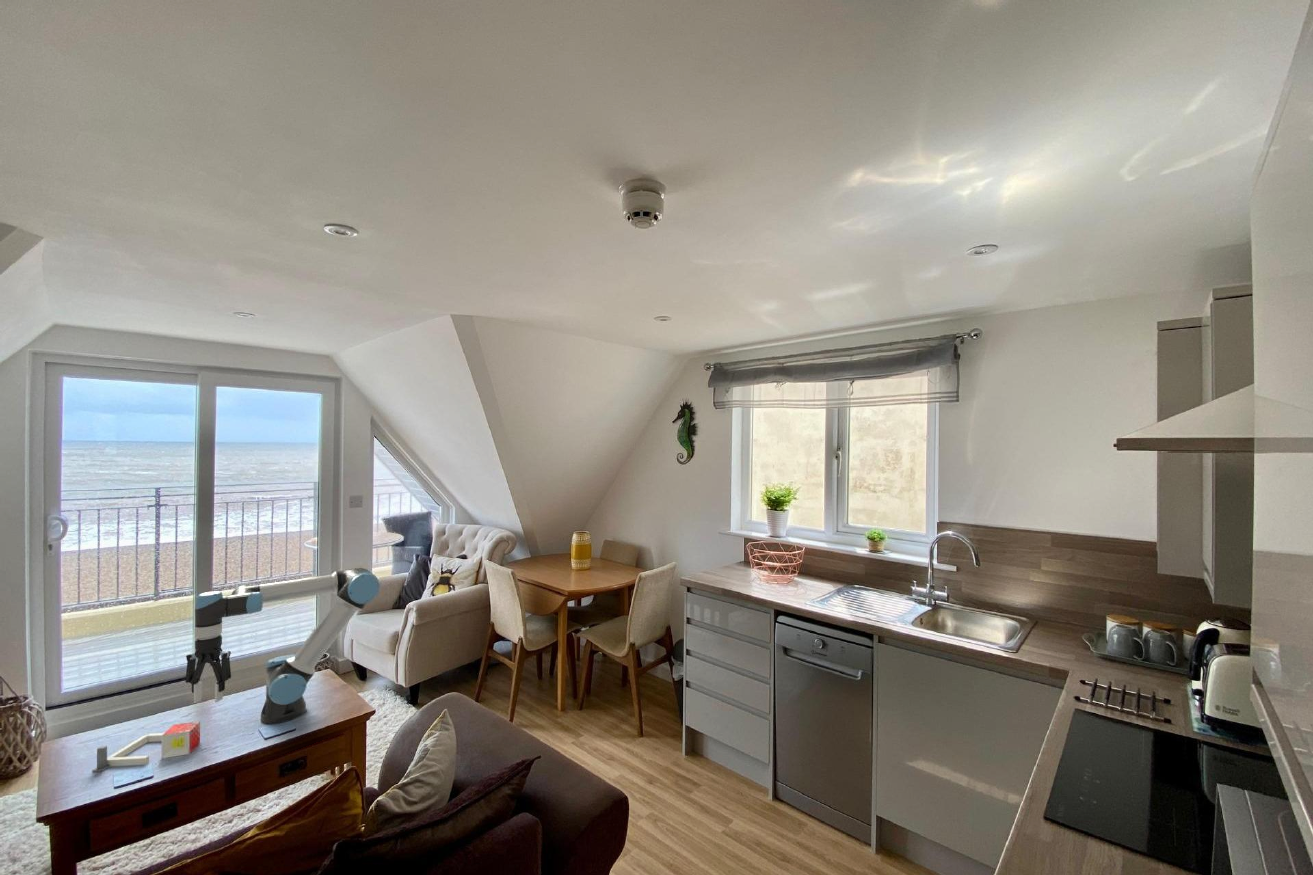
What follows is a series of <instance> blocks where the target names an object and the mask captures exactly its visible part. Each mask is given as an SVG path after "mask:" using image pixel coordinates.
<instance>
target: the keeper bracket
mask: <svg viewBox="0 0 1313 875" xmlns="http://www.w3.org/2000/svg"><path fill="white" fill-rule="evenodd" d="M164 733H165V732H158V733H148V734H145V735H142V736H141V737H139V738H137V739H136V740H134V741H133V742H131V743H129V744H127V745H126V746H124V747H122V748H120V749H119V750H117V751H116V752H114V753H112V754H111V755H109V756H108V746H107V745H102V746H99V747H97V748H96V767H95V768H93V769H92V770H91V772H92V773H96V772H97V773H98V772H104V771H106V770H107V769H109V768H110V767H111V768H112V767H126V766H127V767H129V766H143V765H144V766H145V765H147V764H148V763H150V755H138V756H137V755H134V756H127V755H129V754H130V753H131V752H134V751H136V750H137V749H139V748H140V747H141V746H144V745H145V744H147V743H155V742H156V743H157V742H162V735H163V734H164Z"/></svg>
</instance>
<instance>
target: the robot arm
mask: <svg viewBox="0 0 1313 875" xmlns="http://www.w3.org/2000/svg"><path fill="white" fill-rule="evenodd" d="M380 587H381V586H380V582H379V579H378V577H377V576H376V575H375V574H373V573H372V572H371V571H370V570H368V569H367V568H363V567H355V568H349V569H345V570H339V571H338V570H337V571H334V572H333V573H332V574H328V575H327V574H326V575H319V576H313V577H305V578H299V579H291V580H285V581H278V582H276V581H275V582H272V583H270V582H269V583H265V584H257V585H246V584H242V585H240V586H237V587H236V588H235V589H234V590H233V591H232V592H231V595H223V592H222V591H219V590H218V591H217V590H215V591H207V592H202V593H200V594H198V595H197V596H196V597H195V606H194V608H195V609H194V621H195V622H194V623H195V627H194V638H195V640H194V650H195V652H191V653H189V654H186V656H185V658H186V661H187V663H186V673H185V679H184V680H185V683H187V684H189V683H190V684H191V692H192V694H193V704H197V703H199V702H200V701H201V700H203V699H202V698H203V697H202V696H203V688H202V687H203V681H201V677H202V675H203V671H204V668H205V666H206V664H209V666H211V667H212V670H213V673H214V676H215V679H216V681H217V682H216V683H215V684H214V702H215V703H218V702H220V701H222V700H223V699H224V698H223V697H224V696H223V695H224V691H225V688H226V687H225V686H226V682H227V681H228V680H230V679H231V678H232V673H231V671H232V670H231V659H230V657H231V654H232V653H231V651H229V650H228V651H223V649H222V645H223V635H222V634H223V618H228V617H236V616H243V615H252V614H254V613H255V614H256V613H260V612H261V611H262V610H263V604H270V603H274V602H275V603H276V602H281V601H289V600H296V599H300V598H309V597H314V596H320V595H321V596H322V595H327V594H334V595H336V596H335V597H336V602H334V604H333V606H331V608H330V609H329V611H328V612H327V613H326V614H325V615H324V617H323V618H322V620H320V622H319V624H318V625H317V626H316V627H315V629H314V630H313V631H312V632H311V634H310V635H309V637H307V639H306V640H305V642H304V643H303V644H302V645H301V647H300V648H299V649H298V651H297V652H296V654H295V653H294V654H286V655H280V656H277V657H272V658H271V659H269V660H267V662H266V665H265V666H266V667H265V670H266V671H265V676H266V677H265V678H266V680H265V682H266V683H265V690H266V691H265V698H266V699H265V701H264V704H263V707H262V709H261V713H260V722H262V723H264V724H278V723H285V722H287V721H290V720H293V719H296V718H299V717H300V716H302V715H303V714H304V713H305V712H306V710H307V704H306V703H307V702H306V701H305V699H304V694H305V692H306V689H307V685H308V683H309V682H310V680H311V679H312V677H313V676H314V675H315V674H316V669H315V667H316V666H317V664H318V663H319V662H320V661H321V659H322V658H323V656H324V655H325V653H326V652H327V651H328V650H329V648H330V647H331V646H332V644H333V643H334V642H335V640H336V639H337V637H338V636H339V635H340V634H341V632H342V631H343V630H344V628H346V626H347V624H348V623H349V622H350V621H351V619H352V618H353V616H354V615H355V614H356V613H357V612H358V611H362V610H363V609H364V608H365V606H367V604H368V603H369V602H372V601H373V600H374V599H375V598H376V597H377V595H378V593H379V592H380Z"/></svg>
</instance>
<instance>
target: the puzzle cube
mask: <svg viewBox="0 0 1313 875" xmlns="http://www.w3.org/2000/svg"><path fill="white" fill-rule="evenodd" d="M163 733H164V734H163V735H162V741H161V759H164V758H173V757H178V756H184V755H190V754H191V753H192V752H193V750H195V749H196V747H197V746H198V745H199V744H200V743H201V721H200V720H198V721H197V720H196V721H191V722H190V721H189V722H183V723H177V724H173V725H172V726H170V727H169V728H168V729H167V730H166V731H165V732H163Z"/></svg>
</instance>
